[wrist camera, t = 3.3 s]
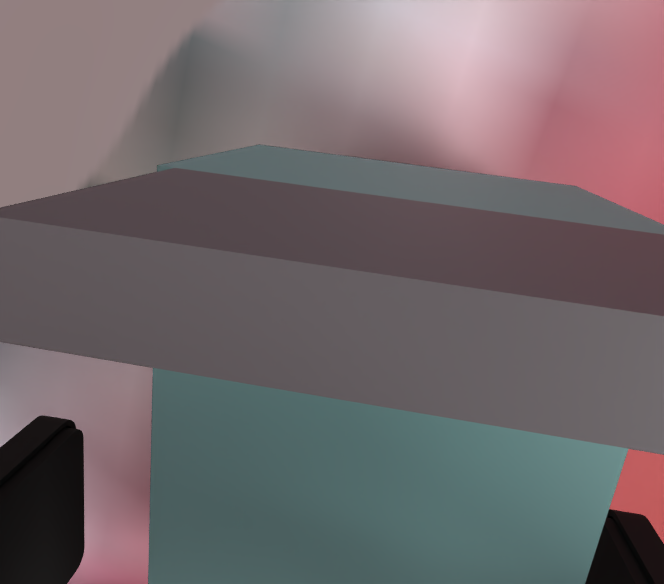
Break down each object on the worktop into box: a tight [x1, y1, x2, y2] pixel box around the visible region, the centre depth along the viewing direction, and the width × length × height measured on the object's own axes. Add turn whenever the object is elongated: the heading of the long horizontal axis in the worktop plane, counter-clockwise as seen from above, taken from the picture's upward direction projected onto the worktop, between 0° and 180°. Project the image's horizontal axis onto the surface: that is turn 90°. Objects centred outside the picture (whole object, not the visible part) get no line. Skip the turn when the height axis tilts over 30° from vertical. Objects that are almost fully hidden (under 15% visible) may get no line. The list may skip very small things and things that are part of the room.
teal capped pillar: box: [0, 145, 664, 584], centre depth 10 cm, size 12×6×10 cm, turn 173°
